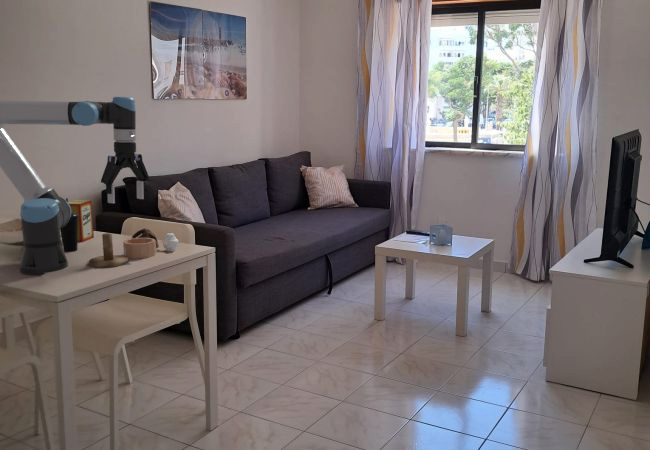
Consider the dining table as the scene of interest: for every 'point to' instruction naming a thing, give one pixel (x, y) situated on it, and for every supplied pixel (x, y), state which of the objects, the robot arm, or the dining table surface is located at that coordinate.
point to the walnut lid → (108, 255)
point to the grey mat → (100, 268)
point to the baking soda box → (83, 218)
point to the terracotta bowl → (139, 248)
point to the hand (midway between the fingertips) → (126, 200)
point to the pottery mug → (145, 235)
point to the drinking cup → (70, 233)
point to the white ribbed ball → (170, 242)
